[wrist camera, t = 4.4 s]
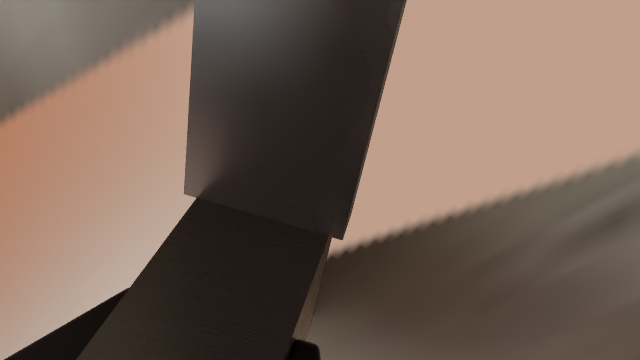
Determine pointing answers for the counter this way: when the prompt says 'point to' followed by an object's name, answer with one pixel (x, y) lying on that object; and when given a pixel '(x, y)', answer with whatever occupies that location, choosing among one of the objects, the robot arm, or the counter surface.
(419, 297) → the counter surface
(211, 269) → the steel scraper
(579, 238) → the counter surface
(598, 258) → the counter surface
